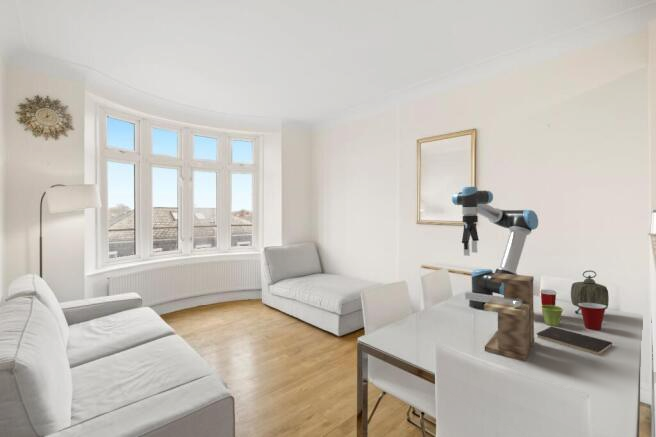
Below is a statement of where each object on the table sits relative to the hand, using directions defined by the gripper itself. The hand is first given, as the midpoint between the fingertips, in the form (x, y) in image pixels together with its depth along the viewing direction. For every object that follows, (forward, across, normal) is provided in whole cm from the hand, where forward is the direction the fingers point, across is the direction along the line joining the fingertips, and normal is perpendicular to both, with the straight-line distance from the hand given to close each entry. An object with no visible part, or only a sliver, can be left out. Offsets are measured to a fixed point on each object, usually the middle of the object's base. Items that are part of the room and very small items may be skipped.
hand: (470, 254), depth 168 cm
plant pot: (+37, +19, -34) cm, 54 cm away
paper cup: (+37, +34, -31) cm, 59 cm away
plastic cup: (+37, +24, -50) cm, 67 cm away
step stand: (+37, -23, -23) cm, 49 cm away
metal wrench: (+17, -29, -17) cm, 38 cm away
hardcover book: (+38, -1, -43) cm, 57 cm away
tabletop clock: (+37, +47, -49) cm, 77 cm away
